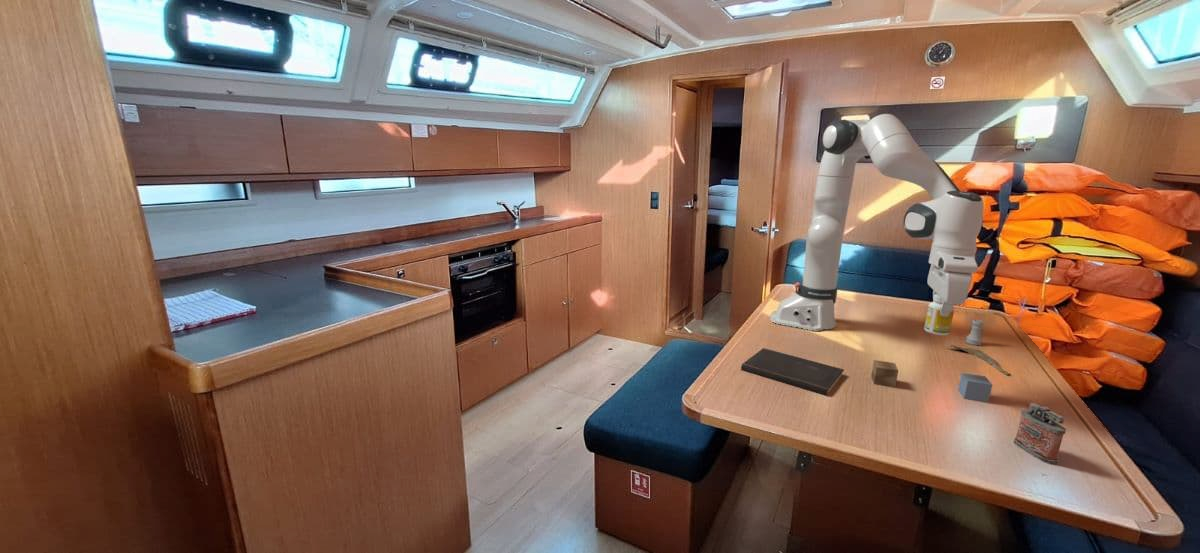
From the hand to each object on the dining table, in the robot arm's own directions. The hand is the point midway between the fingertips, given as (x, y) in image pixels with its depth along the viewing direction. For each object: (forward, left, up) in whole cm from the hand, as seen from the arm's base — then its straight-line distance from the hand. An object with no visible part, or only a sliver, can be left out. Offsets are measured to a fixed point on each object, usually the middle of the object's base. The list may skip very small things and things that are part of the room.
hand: (940, 311), depth 120 cm
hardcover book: (-33, -5, -22) cm, 40 cm away
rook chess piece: (+22, +43, -21) cm, 53 cm away
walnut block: (-10, -1, -21) cm, 23 cm away
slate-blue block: (+10, -1, -21) cm, 23 cm away
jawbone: (+18, +26, -22) cm, 39 cm away
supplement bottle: (0, 0, -6) cm, 6 cm away
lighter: (+14, -25, -21) cm, 36 cm away
